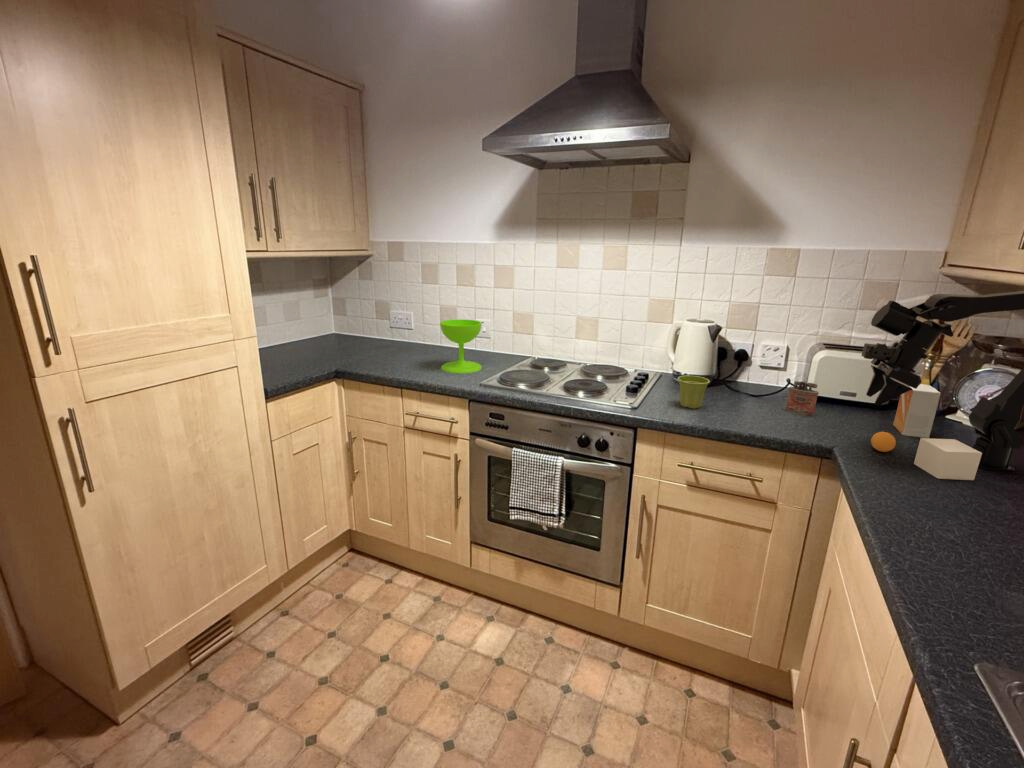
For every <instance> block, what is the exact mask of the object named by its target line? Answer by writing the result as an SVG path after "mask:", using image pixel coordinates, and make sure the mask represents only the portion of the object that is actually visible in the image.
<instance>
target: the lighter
mask: <svg viewBox="0 0 1024 768" xmlns="http://www.w3.org/2000/svg"><path fill="white" fill-rule="evenodd" d="M793 382H794V383H793V386H789V387H788V394H787V399H786V407H784V411H785V412H788V413H791V414H795V415H800V416H804V415H805V417H810V416H812V417H815V414H816V413H815V410H816V406H817V405H816V403H817V400H818V396H819V392H820V391H818V390H814V389H817V388H818V384H817V383H816V382H815V383H814V382H807V381H806V380H802V381H799V380H794V381H793Z"/></svg>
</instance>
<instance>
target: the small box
mask: <svg viewBox="0 0 1024 768" xmlns="http://www.w3.org/2000/svg"><path fill="white" fill-rule="evenodd" d="M910 387H911V386H910ZM911 388H912V390H911V391H910V390H909V391H907V392H905V393H903V394H901V395H899V400H898V404H897V409H896V411H895V412H896V413H895V416H894V420H893V424H892V425H893V427H895V428H896V430H897V431H898V432H899V433H900V434H901V435H902V436H907V437H913V438H914V437H916V438H930V435H931V432H932V429H933V425H934V422H935V421H934V420H935V418H936V417H935V416H936V412H937V410H938V406H939V402H940V397H941V392H940V391H938V390H937V389H936V388H935V387H934V386H931V385H930V384H923V383H922V384H921V383H920V385H919V386H918V387H917V388H916V389H915V388H913V387H911Z"/></svg>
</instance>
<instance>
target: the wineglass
mask: <svg viewBox="0 0 1024 768" xmlns="http://www.w3.org/2000/svg"><path fill="white" fill-rule="evenodd" d="M482 323H483V322H481V321H479V320H475V319H461V318H460V319H458V318H457V319H448V320H447V319H446V320H443V321H441V322H439V326H440V330H441V332H442V334H443V335H444V336H445V338H446V339H448V340H449V341H450V342H453V343H455V344H458V360H454V361H449V362H446V363H444V364H443V365H441V368H440V369H441V370H442V371H444V372H446V373H452V374H471V373H476V372H479V371H481V370H482V365H481V364H480V363H478V362H476V361H470V360H468V361H467V360H465V356H464V353H465V351H464V346H465V345H464V344H467V343H470V342H472V341H473V340H474V339H476V338H477V337H478V335H480V332H481V329H482Z"/></svg>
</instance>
